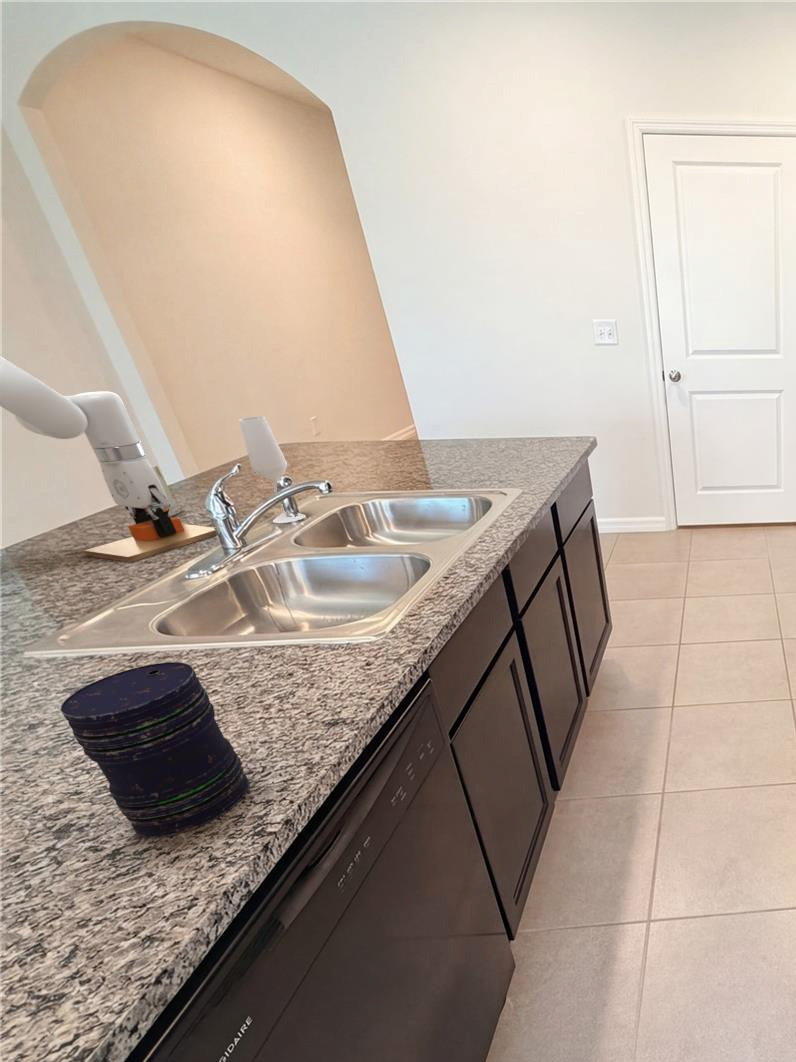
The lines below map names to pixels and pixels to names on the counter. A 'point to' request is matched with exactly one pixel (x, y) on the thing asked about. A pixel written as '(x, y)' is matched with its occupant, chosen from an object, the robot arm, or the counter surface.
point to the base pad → (150, 544)
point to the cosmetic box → (173, 507)
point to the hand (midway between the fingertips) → (158, 533)
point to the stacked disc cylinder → (158, 747)
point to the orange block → (151, 530)
